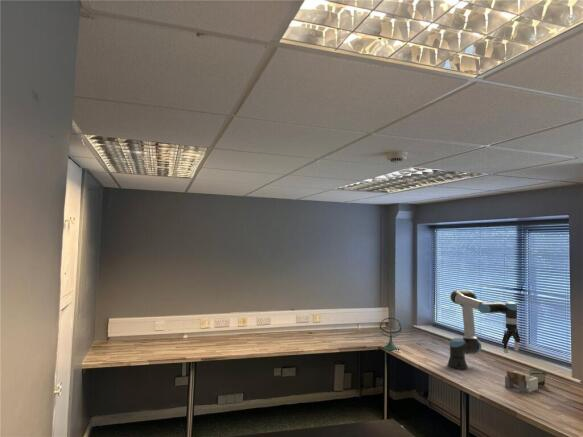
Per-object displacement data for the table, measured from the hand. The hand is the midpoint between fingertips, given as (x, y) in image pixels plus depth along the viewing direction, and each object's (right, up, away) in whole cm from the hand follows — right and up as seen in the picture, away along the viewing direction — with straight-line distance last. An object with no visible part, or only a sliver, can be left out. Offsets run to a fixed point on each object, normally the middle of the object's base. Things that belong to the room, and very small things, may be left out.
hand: (511, 351), depth 279 cm
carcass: (+3, -24, -6) cm, 25 cm away
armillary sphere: (-68, -29, +88) cm, 115 cm away
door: (-2, -20, -9) cm, 22 cm away
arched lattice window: (+19, -25, +1) cm, 32 cm away
